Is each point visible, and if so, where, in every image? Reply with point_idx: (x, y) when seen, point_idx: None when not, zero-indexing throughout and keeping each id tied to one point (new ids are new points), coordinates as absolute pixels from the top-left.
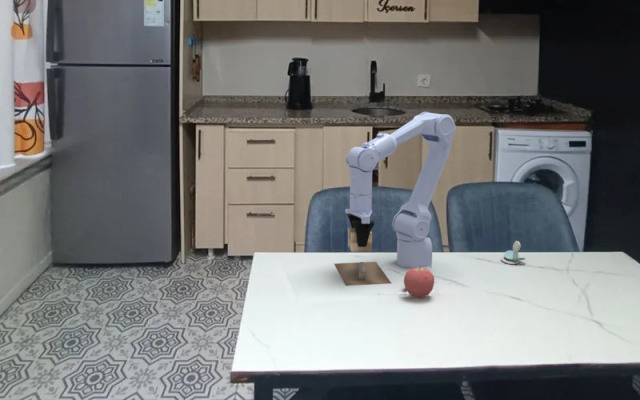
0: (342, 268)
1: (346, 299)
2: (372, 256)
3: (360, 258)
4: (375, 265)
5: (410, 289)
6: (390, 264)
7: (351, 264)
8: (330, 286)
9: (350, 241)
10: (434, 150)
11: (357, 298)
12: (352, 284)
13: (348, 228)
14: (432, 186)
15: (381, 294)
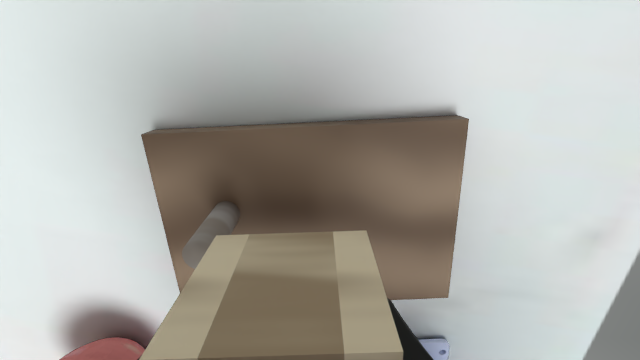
0: (384, 150)
1: (57, 119)
2: (569, 290)
3: (562, 245)
4: (399, 288)
5: (62, 357)
6: (453, 331)
7: (435, 199)
8: (214, 67)
9: (250, 274)
10: None
11: (77, 165)
12: (159, 165)
13: (379, 352)
14: None
15: (132, 253)
